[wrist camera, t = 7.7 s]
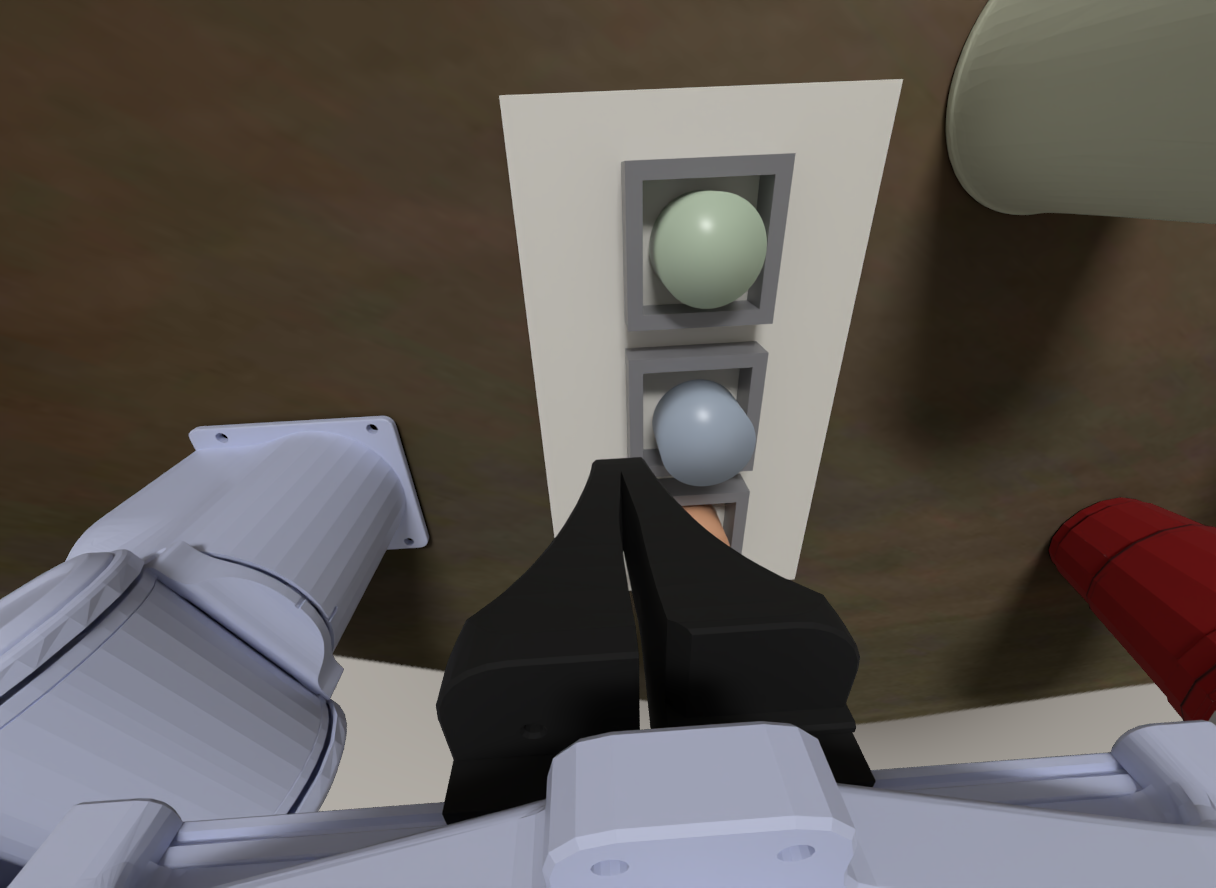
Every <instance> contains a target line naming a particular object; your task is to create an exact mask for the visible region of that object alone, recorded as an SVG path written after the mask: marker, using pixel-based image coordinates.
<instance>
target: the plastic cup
mask: <svg viewBox="0 0 1216 888" xmlns="http://www.w3.org/2000/svg"><path fill="white" fill-rule="evenodd" d="M1049 554H1050V557H1051V560H1052V562H1053V563H1054V564H1055V565H1056V566H1057V569H1058V571H1059V572H1060V573H1061V574H1062V575H1063V576H1064V578H1065V579H1066V580H1067V581H1068V582H1069V583H1070V584H1071V585H1072V586H1073V587H1074V589H1075V590H1076V591H1077V592H1078V593H1079V594H1080V595H1081V596H1082V597H1083V598H1084V600H1085V601H1086V602H1087V603H1088V604H1089V608H1090V609H1091V610H1092V611H1093V612H1094V614H1095V615H1096V616H1097V617H1098V618H1099V619H1100V621H1101V622H1102V623H1103V624H1104V625H1105V626H1106V627H1107V629H1108V630H1109V631H1110V632H1111V633H1112V634H1113V635H1114V637H1115V638H1116V639H1117V640H1118V641H1119V642H1120V644H1121V645H1122V646H1123V647H1124V648H1125V649H1126V650H1127V652H1128V653H1129V654H1130V655H1131V656H1132V657H1133V658H1134V660H1135V661H1136V662H1137V663H1138V664H1139V665H1140V667H1141V668H1142V669H1143V670H1144V671H1145V672H1146V673H1147V675H1148V676H1149V677H1150V678H1151V679H1152V680H1153V682H1154V683H1155V684H1156V685H1157V686H1158V687H1159V688H1160V690H1161V691H1162V692H1163V693H1164V694H1165V695H1166V696H1167V699H1168V702H1169V703H1170V704H1171V705H1172V707H1173V708H1174V709H1175V710H1176V712H1177V713H1178V714H1179V715H1180V716H1181V717H1182V719H1183V721H1194V720H1205V721H1209V722H1212V723H1213V724H1214V725H1215V726H1216V528H1215V527H1213V526H1205V525H1203V524H1200V523H1198V522H1195V521H1193V520H1190V519H1188V518H1185V517H1183V516H1181V515H1178V514H1176V513H1173V512H1171V511H1168V510H1166V509H1163V508H1161V507H1159V506H1156V505H1154V504H1151V503H1144V502H1141V501H1139V500H1136V499H1129V498H1121V497H1119V498H1115V499H1110V500H1105V501H1100V502H1098V503H1096V504H1094V505H1092V506H1090V507H1087V508H1085V509H1083V510H1081V511H1079V512H1078V513H1077V514H1075V515H1074V516H1073V517H1072V518H1070V519H1069V520H1068V521H1066V522H1065V523H1064V524H1063V525H1062V526H1061V527H1060V529H1059V530H1058V531H1057V533H1056V534H1055V535H1054V536H1053V538H1052V541H1051V544H1050V547H1049Z"/></svg>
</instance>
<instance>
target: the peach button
mask: <svg viewBox="0 0 1216 888" xmlns="http://www.w3.org/2000/svg"><path fill="white" fill-rule="evenodd" d="M682 507H683V508H684V509H685V510H686V511H687V512H688V513H689V514H690V515H691V516H692V517H693V518H694V519H695V520H696V521H697V522H698V523H700V524H701V525H702V526H703V527H704V528H705V529H707V530H708V531H709V532H710V533H712V534H713V535H714V536H715V537H717V538H718V539H719V540H721V541H722V542H724V543H725V544H727V545H728V546H730V544H729V541H728V539H727V537H726V534H725V532H724V529H723V527H722V524H721V522H720V519H719V517H718V515H717V512H716V510H715V508H714V507H713V506H712V505H711V504H702V505H687V506H682Z"/></svg>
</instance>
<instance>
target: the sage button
mask: <svg viewBox="0 0 1216 888" xmlns="http://www.w3.org/2000/svg"><path fill="white" fill-rule="evenodd" d="M766 251H767V236H766V231H765V227H764V224H763V221H762V219H761V217H760V215H759V213H758V212H757V210H756V209H755V208H754V207H753V206H752V205H751V204H750V203H749V202H748V201H747V200H745V199H744V198H742V197H740V196H738V195H736V194H733V193H729V192H722V191H712V190H695V191H690V192H687V193H684V194H682V195H680V196H678V197H677V198H675V199H673V200H672V201H671V202H670V203H669V204H668V205H667V206H666V207H665V208H664V209H663V210H662V211H661V213H660V214H659V216H658V217H657V219H656V221H655V223H654V225H653V228H652V231H651V235H650V240H649V255H650V260H651V264H652V267H653V269H654V271H655V273H656V275H657V276H658V278H659V279H660V280H661V281H662V283H663V284H664V285H665V286H666V288H667V289H668V290H669V291H670V293H671V294H672V295H673V296H674V297H675V298H677V299H678V300H679V301H681V302H682V303H684V304H686V305H688V306H691V307H695V308H700V309H712V308H718V307H722V306H724V305H727V304H729V303H731V302H733V301H735V300H736V299H738V298H739V297H741V296H742V295H743V294H744V293H745V292H746V291H747V290H748V289H749V288H750V287H751V286H752V285H753V283H754V282H755V280H756V279H757V277H758V275H759V274H760V271H761V269H762V267H763V264H764V261H765V256H766Z"/></svg>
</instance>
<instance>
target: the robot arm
mask: <svg viewBox="0 0 1216 888" xmlns="http://www.w3.org/2000/svg"><path fill="white" fill-rule="evenodd" d="M370 424H373V425H375V426H376V427H377V428H378V430H373V429H372V428H371V427H370ZM221 433H222V434H224V435H226V436H227V438H228V439H227V438H225V437H223V435H222V434H221ZM189 438H190V440H191V442H192V444H193V446H194V448H195V449H196V451H195V452H194V453H192V454H191V455H189V456H188V457H187V458H185V459H184V460H182V461H181V462H179V463H178V464H177V465H175V466H174V467H172V468H171V469H170V470H168V471H167V472H165V473H164V474H163V475H161V476H160V477H158V478H157V479H156V480H154V481H153V482H151V483H150V484H149V485H147V486H146V487H144V488H143V489H142V490H140V491H139V492H137V493H136V494H134V495H133V496H132V497H130V498H129V499H127V500H126V501H125V502H123V503H122V504H120V505H119V506H118V507H116V508H115V509H113V510H112V511H111V512H109V513H108V514H106V515H105V516H104V517H102V518H101V519H99V520H98V521H97V522H95V523H94V524H93V525H92V526H91V527H90V528H89V529H87V530H86V531H85V532H84V534H83V535H82V536H81V537H80V538H79V539H78V541H77V542H76V543H75V545H74V546H73V548H72V550H71V551H70V553H69V555H68V557H67V559H66V561H65V562H63V563H62V564H60V565H58V566H56V567H54V568H52V569H50V570H49V571H47V572H45V573H43V574H42V575H40V576H38V577H37V578H35V579H33V580H31V581H30V582H28V583H26V584H25V585H23V586H22V587H20V588H18V589H17V590H15V591H13V592H12V593H10V594H9V595H7V596H5V597H4V598H2V599H1V600H0V888H1216V726H1215V725H1214V724H1213V723H1212V722H1209V721H1205V720H1194V721H1181V722H1168V723H1154V724H1146V725H1141V726H1137V727H1135V728H1133V729H1130V730H1128V731H1127V732H1125V733H1124V734H1123V735H1122V736H1121V737H1120V738H1119V739H1118V740H1117V741H1116V742H1115V744H1114V745H1113V747H1112V750H1111V752H1108V753H1095V754H1081V755H1070V756H1069V755H1068V756H1055V757H1041V758H1028V759H1014V760H1001V761H988V762H975V763H961V764H948V765H935V766H921V767H909V768H908V767H907V768H894V769H881V770H870V768H869V766H868V764H867V762H866V760H865V758H864V756H863V754H862V752H861V749H860V747H859V745H858V743H857V741H856V739H855V737H854V735H853V733H852V732H855V729H856V724H855V721H854V719H853V717H852V715H851V713H850V711H849V709H848V707H847V705H846V701H847V699H848V696H849V693H850V690H851V687H852V685H853V682H854V679H855V676H856V673H857V671H858V666H859V660H860V655H859V652H858V648H857V645H856V643H855V641H854V640H853V638H852V636H851V635H850V633H849V631H848V629H847V628H846V626H845V625H844V623H843V622H842V620H841V619H840V617H839V616H838V614H837V613H836V611H835V610H834V609H833V608H832V606H831V605H830V604H829V602H828V601H827V600H826V598H825V597H824V595H822V594H820V593H818V592H815V591H813V590H811V589H809V588H806V587H804V586H802V585H799V584H797V583H795V582H793V581H790V580H788V579H786V578H784V577H781V576H779V575H778V574H776V573H774V572H772V571H770V570H768V569H766V568H764V567H762V566H760V565H759V564H757V563H755V562H753V561H752V560H750V559H748V558H747V557H745V556H743V555H742V554H740V553H739V552H737V551H736V550H734V549H733V548H731V547H730V546H728V545H727V544H725V543H724V542H722V541H721V540H719V539H718V538H717V537H715V536H714V535H713V534H712V533H710V532H709V531H708V530H707V529H705V528H704V527H703V526H702V525H701V524H700V523H698V522H697V521H696V520H695V519H694V518H693V517H692V516H691V515H690V514H689V513H688V512H687V511H686V510H685V509H684V508H683V507H682V506H681V505H680V504H679V503H678V502H677V501H676V500H675V499H674V498H673V496H672V495H671V494H670V493H669V492H668V491H667V490H666V488H665V487H664V486H663V485H662V484H661V482H660V481H659V480H658V479H657V477H656V476H655V475H654V473H653V472H652V470H651V469H650V468H649V466H648V465H647V463H646V461H645V460H644V459H643V458H642V457H633V458H616V459H599V460H595V461H594V462H593V463H592V467H591V471H590V474H589V477H588V480H587V483H586V485H585V487H584V490H583V492H582V494H581V496H580V498H579V500H578V502H577V504H576V506H575V508H574V509H573V511H572V513H571V514H570V516H569V518H568V519H567V521H566V523H565V524H564V526H563V527H562V529H561V530H560V532H559V533H558V535H557V536H556V537H555V539H554V540H553V541H552V543H551V544H550V545H549V546H548V548H547V549H546V550H545V551H544V552H543V554H542V555H541V556H540V557H539V558H538V559H537V561H536V562H535V563H534V564H533V565H532V566H531V567H530V568H529V569H528V570H527V571H526V572H525V573H524V574H523V575H522V576H521V577H520V578H519V579H518V580H517V581H516V582H514V583H513V584H512V585H511V586H510V587H509V588H508V589H507V590H506V591H505V592H504V593H502V594H501V595H500V596H499V597H497V598H496V599H495V600H493V601H492V602H491V603H489V604H488V605H487V606H485V607H484V608H482V609H481V610H480V611H478V612H477V613H476V614H474V615H473V616H471V617H470V618H468V619H467V620H466V622H465V624H464V626H463V628H462V630H461V632H460V634H459V637H458V639H457V641H456V643H455V646H454V648H453V650H452V653H451V655H450V658H449V660H448V663H447V666H446V669H445V673H444V677H443V681H442V684H441V688H440V692H439V696H438V700H437V703H436V709H437V715H438V720H439V722H440V725H441V728H442V730H443V733H444V736H445V738H446V741H447V744H448V746H449V749H450V751H451V754H452V757H453V759H454V761H453V766H452V770H451V775H450V779H449V784H448V789H447V793H446V798H445V802H440V803H427V804H414V805H399V806H386V807H373V808H361V809H360V808H359V809H348V810H333V811H319V809H320V807H321V806H322V804H323V802H324V800H325V798H326V796H327V794H328V792H329V790H330V788H331V785H332V783H333V781H334V778H335V775H336V773H337V770H338V766H339V763H340V760H341V757H342V753H343V750H344V745H345V740H346V732H347V729H346V727H347V723H346V718H345V714H344V712H343V710H342V709H341V707H340V706H339V705H338V704H337V703H336V702H334V701H333V700H331V699H330V698H331V696H332V694H333V691H334V690H335V687H336V685H337V683H338V681H339V679H340V677H341V675H342V673H343V670H344V669H343V667H342V666H341V665H340V664H339V663H337V661H336V660H335V658H334V656H333V652H334V650H335V648H336V646H337V644H338V642H339V640H340V638H341V636H342V635H343V633H344V631H345V629H346V627H347V625H348V623H349V621H350V619H351V617H352V615H353V613H354V611H355V609H356V608H357V606H358V604H359V602H360V600H361V598H362V596H363V594H364V592H365V590H366V588H367V586H368V584H369V582H370V581H371V579H372V577H373V575H374V573H375V571H376V569H377V567H378V565H379V563H380V561H381V559H382V557H383V555H384V554H385V552H386V550H389V549H404V548H420V547H424V546H426V545H427V543H428V541H429V534H428V531H427V528H426V524H425V521H424V518H423V514H422V511H421V507H420V504H419V501H418V497H417V494H416V491H415V487H414V484H413V481H412V477H411V474H410V470H409V467H408V464H407V460H406V457H405V454H404V450H403V447H402V444H401V440H400V437H399V433H398V430H397V427H396V424H395V422H394V421H393V420H392V419H391V418H389V417H387V416H370V417H353V418H336V419H319V420H302V421H285V422H268V423H251V424H234V425H217V426H200V427H196V428H195V429H193V430H192V431H191V432H190V433H189ZM407 538H411V539H412V540H413V541H411V540H408V539H407ZM623 551H624V556H625V561H626V566H627V570H628V575H629V580H630V585H631V589H632V594H633V599H634V603H635V608H636V613H637V618H638V623H639V629H640V635H641V643H642V652H643V661H644V670H645V680H646V689H647V698H648V708H649V717H650V727H651V729H644V730H640V718H639V717H640V715H639V653H638V644H637V635H636V627H635V621H634V616H633V611H632V606H631V600H630V595H629V589H628V583H627V576H626V570H625V564H624V556H623ZM318 811H319V812H318Z"/></svg>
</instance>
